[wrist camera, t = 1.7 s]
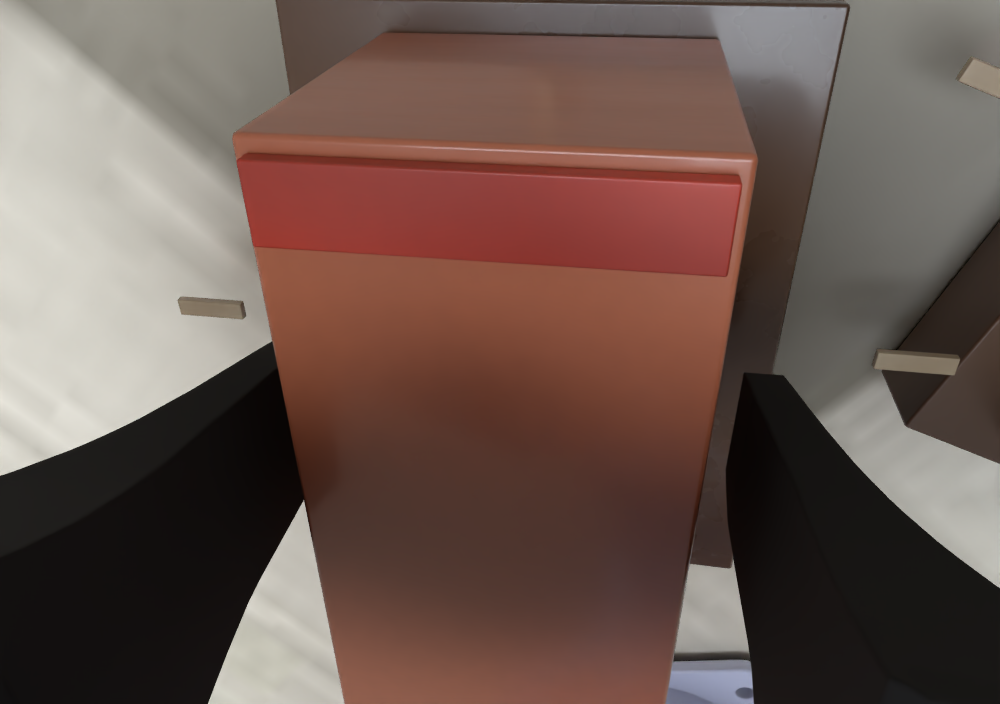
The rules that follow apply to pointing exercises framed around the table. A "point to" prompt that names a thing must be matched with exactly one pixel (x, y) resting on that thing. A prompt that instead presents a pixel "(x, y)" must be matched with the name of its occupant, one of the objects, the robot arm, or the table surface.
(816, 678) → the robot arm
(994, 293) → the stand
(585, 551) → the orange rectangular box
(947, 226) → the table surface
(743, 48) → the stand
